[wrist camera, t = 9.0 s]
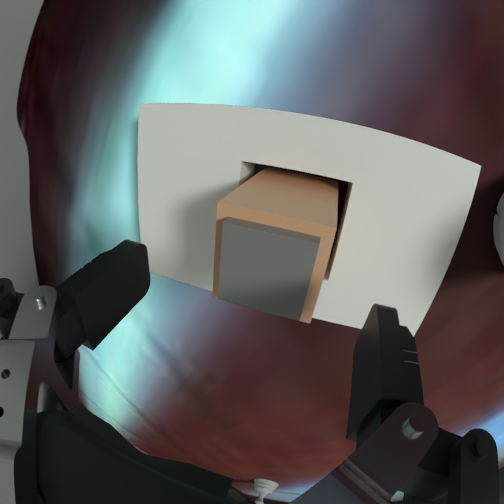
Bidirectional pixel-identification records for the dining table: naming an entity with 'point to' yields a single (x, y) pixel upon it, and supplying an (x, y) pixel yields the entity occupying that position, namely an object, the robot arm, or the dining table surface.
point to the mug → (499, 228)
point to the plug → (275, 242)
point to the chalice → (264, 488)
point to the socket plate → (316, 162)
